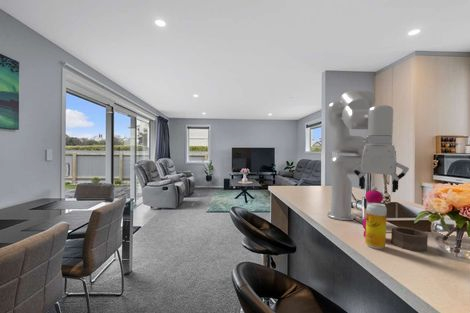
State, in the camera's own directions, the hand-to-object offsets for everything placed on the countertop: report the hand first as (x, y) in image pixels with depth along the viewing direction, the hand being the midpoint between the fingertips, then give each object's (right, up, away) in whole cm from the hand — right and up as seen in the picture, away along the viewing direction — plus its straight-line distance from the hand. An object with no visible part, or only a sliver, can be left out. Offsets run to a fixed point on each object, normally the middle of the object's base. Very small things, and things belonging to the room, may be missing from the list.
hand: (377, 190), depth 84 cm
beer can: (-1, -20, +1) cm, 20 cm away
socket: (+13, -20, +3) cm, 24 cm away
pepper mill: (+4, -20, +10) cm, 23 cm away
